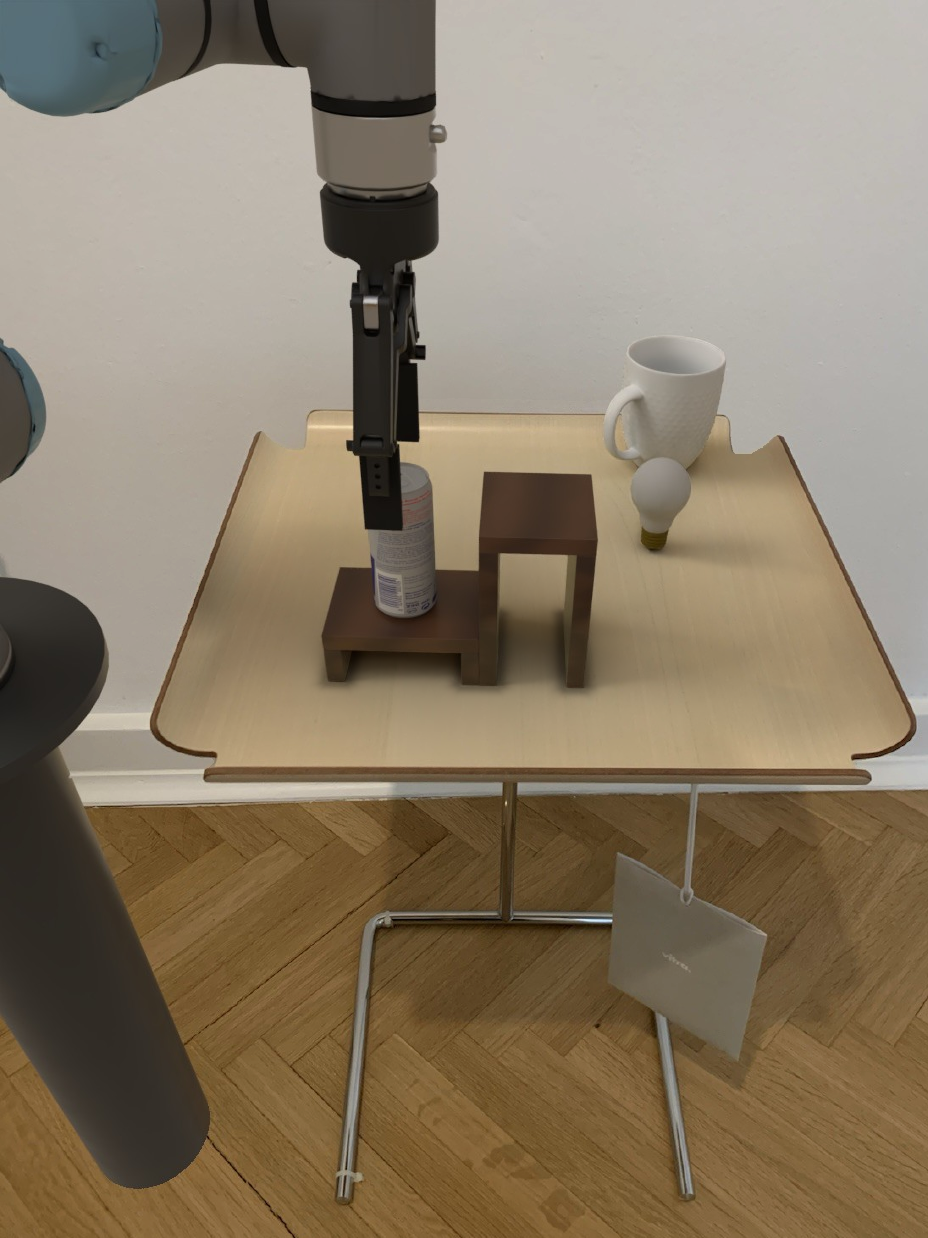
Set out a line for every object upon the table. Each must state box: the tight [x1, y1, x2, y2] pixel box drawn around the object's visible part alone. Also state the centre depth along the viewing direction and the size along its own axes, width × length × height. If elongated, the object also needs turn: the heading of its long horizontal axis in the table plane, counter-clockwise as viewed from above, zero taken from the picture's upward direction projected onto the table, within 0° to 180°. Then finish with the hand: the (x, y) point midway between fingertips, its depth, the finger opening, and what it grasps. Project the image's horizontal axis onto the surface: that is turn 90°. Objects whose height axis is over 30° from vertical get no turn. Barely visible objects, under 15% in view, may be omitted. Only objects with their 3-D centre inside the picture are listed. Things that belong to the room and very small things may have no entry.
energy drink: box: [367, 461, 437, 618], centre depth 77 cm, size 5×5×12 cm
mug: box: [602, 334, 727, 470], centre depth 106 cm, size 15×11×13 cm
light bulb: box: [630, 457, 692, 551], centre depth 94 cm, size 6×6×10 cm
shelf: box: [320, 471, 599, 689], centre depth 80 cm, size 22×10×15 cm, turn 89°
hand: (394, 481), depth 74 cm, fingers open, 13 cm apart
